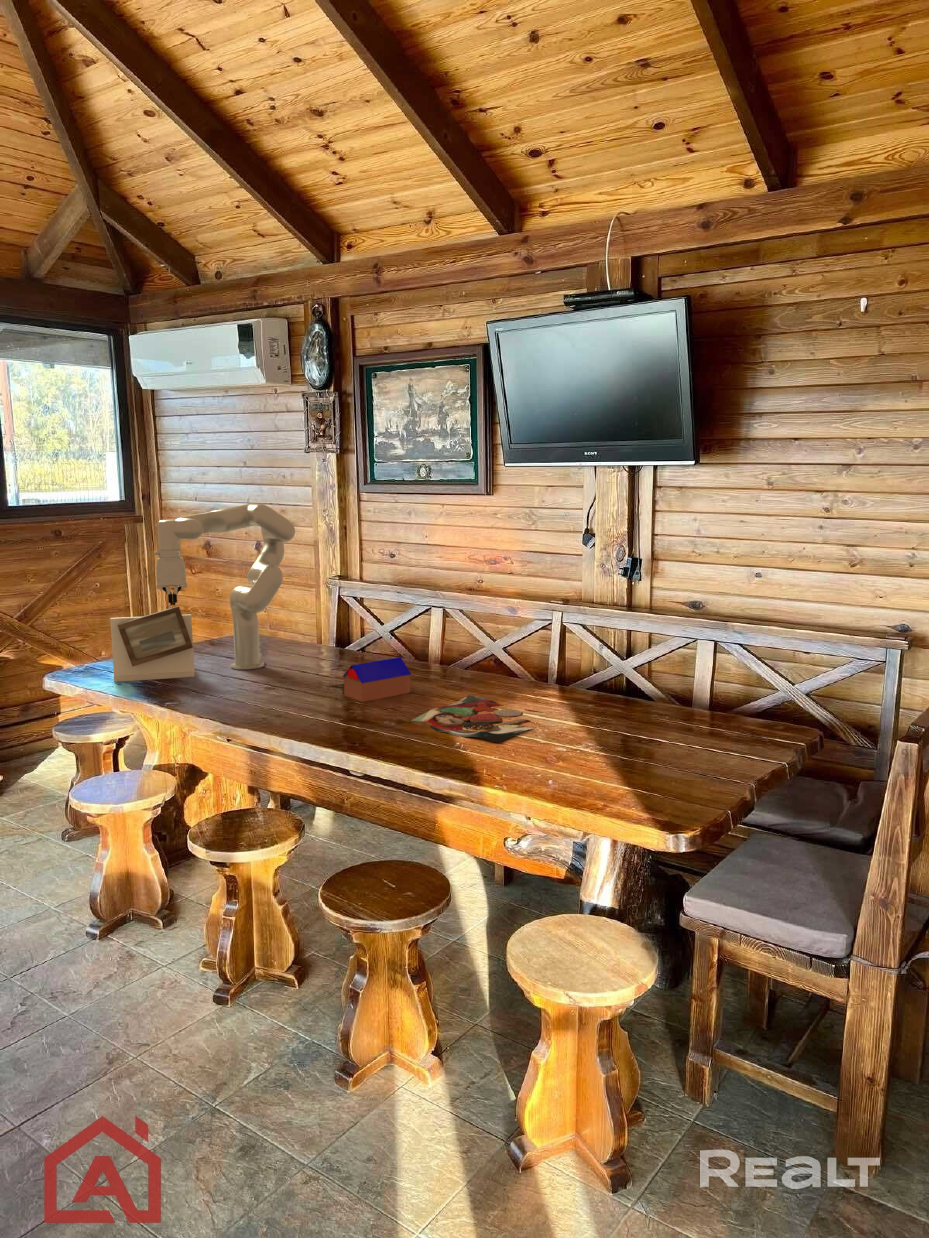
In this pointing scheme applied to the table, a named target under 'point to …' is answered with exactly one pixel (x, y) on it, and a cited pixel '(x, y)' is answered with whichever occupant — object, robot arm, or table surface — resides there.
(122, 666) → the display board
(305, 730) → the table surface
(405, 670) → the house
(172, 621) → the picture frame
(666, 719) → the table surface
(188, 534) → the robot arm
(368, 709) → the table surface
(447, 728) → the platter
